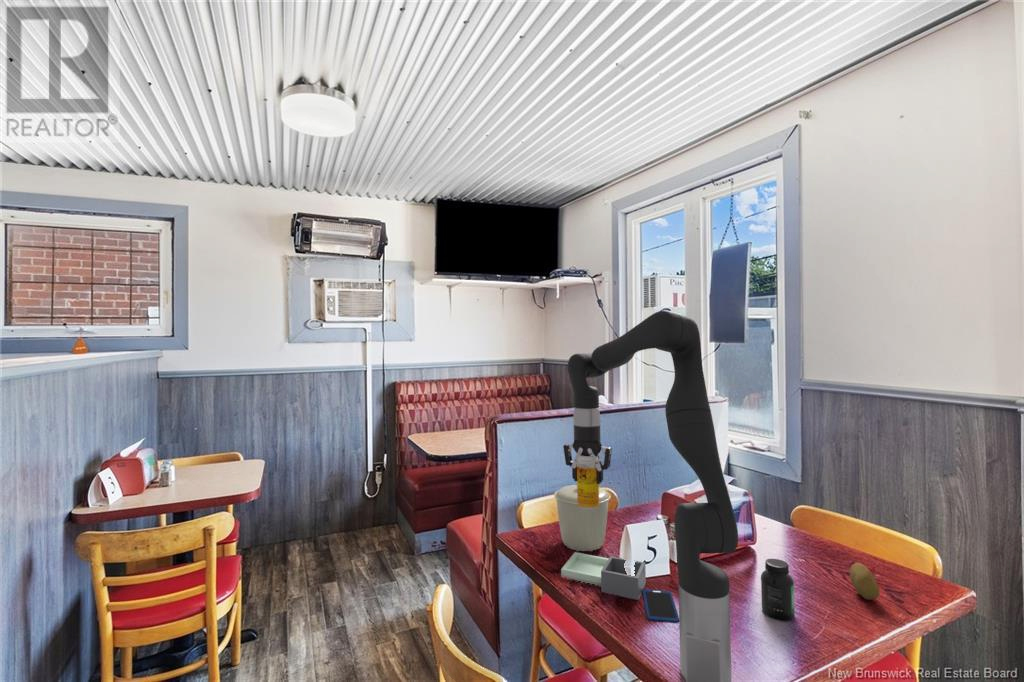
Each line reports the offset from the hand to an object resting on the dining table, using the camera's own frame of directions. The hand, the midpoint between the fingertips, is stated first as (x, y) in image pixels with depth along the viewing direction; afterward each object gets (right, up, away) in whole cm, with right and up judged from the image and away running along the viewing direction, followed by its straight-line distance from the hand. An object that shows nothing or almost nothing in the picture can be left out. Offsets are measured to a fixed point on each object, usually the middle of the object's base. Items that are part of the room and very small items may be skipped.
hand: (587, 481), depth 134 cm
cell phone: (+15, -26, -18) cm, 35 cm away
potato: (+67, -25, -16) cm, 73 cm away
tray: (0, -26, 0) cm, 26 cm away
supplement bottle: (+42, -25, -22) cm, 53 cm away
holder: (+8, -25, -9) cm, 28 cm away
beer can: (0, -7, 0) cm, 7 cm away
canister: (+1, -26, +18) cm, 32 cm away
